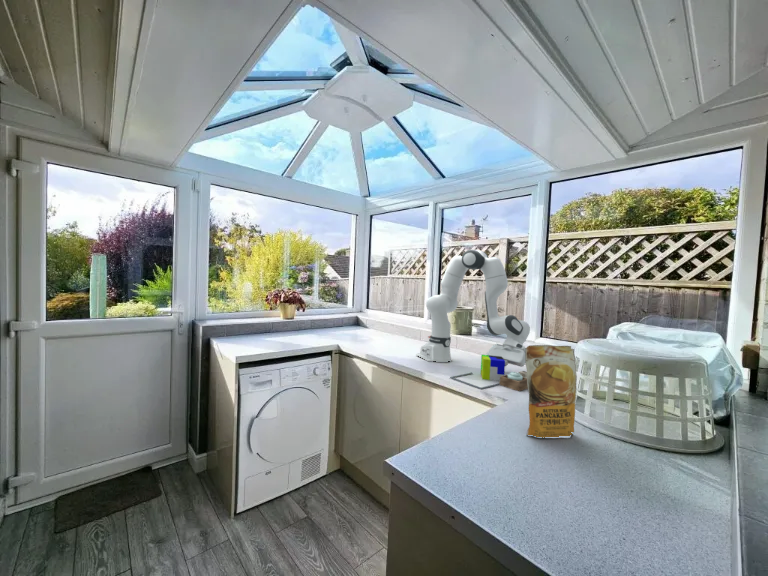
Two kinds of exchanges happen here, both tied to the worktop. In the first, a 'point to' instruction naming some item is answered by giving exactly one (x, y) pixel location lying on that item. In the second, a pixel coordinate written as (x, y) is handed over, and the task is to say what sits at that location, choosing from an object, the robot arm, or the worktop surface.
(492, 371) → the puzzle toy
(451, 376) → the frame
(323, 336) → the worktop surface
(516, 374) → the dome button
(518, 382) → the brown wooden box
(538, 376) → the pancake mix bag
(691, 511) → the worktop surface
